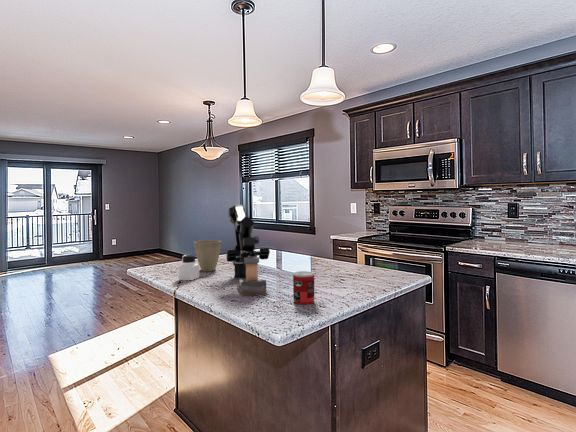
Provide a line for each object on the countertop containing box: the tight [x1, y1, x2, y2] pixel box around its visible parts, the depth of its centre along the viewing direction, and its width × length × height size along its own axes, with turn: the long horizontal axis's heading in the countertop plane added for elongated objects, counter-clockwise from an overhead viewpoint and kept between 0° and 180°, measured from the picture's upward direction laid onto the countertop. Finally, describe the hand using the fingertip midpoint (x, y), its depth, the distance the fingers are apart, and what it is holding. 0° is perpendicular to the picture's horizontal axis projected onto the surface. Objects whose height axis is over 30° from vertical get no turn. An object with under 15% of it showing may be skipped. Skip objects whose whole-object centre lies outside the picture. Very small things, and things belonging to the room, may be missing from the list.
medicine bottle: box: [178, 254, 200, 281], centre depth 177 cm, size 7×7×12 cm
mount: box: [237, 278, 267, 297], centre depth 153 cm, size 14×10×6 cm
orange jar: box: [244, 256, 260, 281], centre depth 151 cm, size 6×6×13 cm
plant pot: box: [193, 239, 222, 272], centre depth 199 cm, size 15×15×16 cm
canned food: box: [292, 270, 315, 305], centre depth 136 cm, size 8×8×11 cm
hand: (250, 270), depth 154 cm, fingers closed, pressing on orange jar
